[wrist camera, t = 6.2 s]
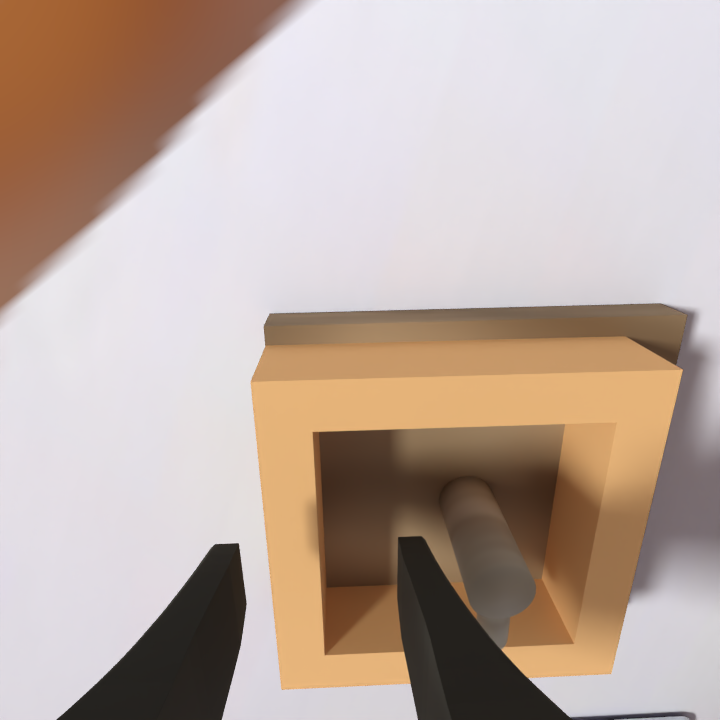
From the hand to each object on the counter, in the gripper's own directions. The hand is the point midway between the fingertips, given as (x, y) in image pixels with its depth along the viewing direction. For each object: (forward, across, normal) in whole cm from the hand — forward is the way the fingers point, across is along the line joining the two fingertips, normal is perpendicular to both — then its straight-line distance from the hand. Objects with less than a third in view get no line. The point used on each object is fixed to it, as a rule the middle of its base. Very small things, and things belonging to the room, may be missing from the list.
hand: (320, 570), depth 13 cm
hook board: (+7, -5, +2) cm, 9 cm away
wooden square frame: (+5, -4, +2) cm, 7 cm away
